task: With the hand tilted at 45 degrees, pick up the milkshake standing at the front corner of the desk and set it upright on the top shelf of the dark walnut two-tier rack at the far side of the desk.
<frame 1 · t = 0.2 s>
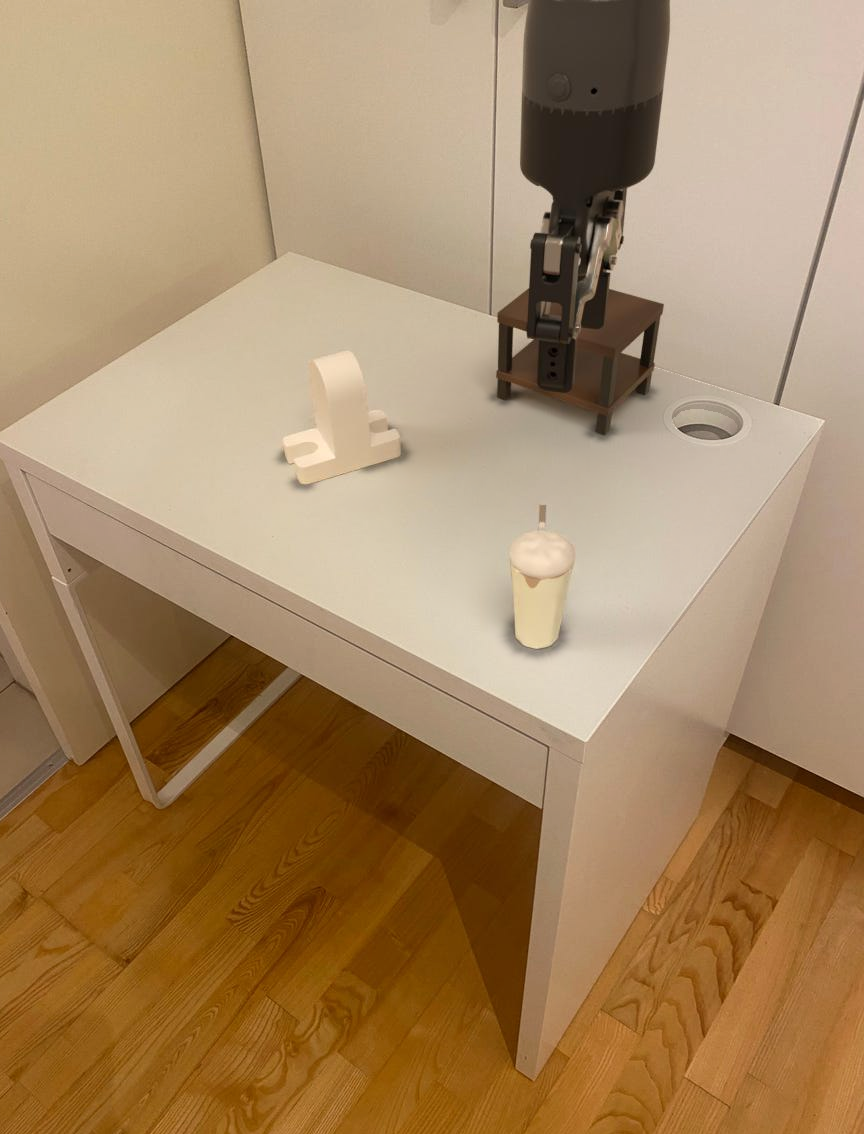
hand: (572, 355, 64), 20 cm above the table, tool pointing down, fingers open, 8 cm apart
rack: (572, 394, 96), on the table
milkshake: (536, 631, 75), on the table
cream mounting bracket: (343, 456, 92), on the table
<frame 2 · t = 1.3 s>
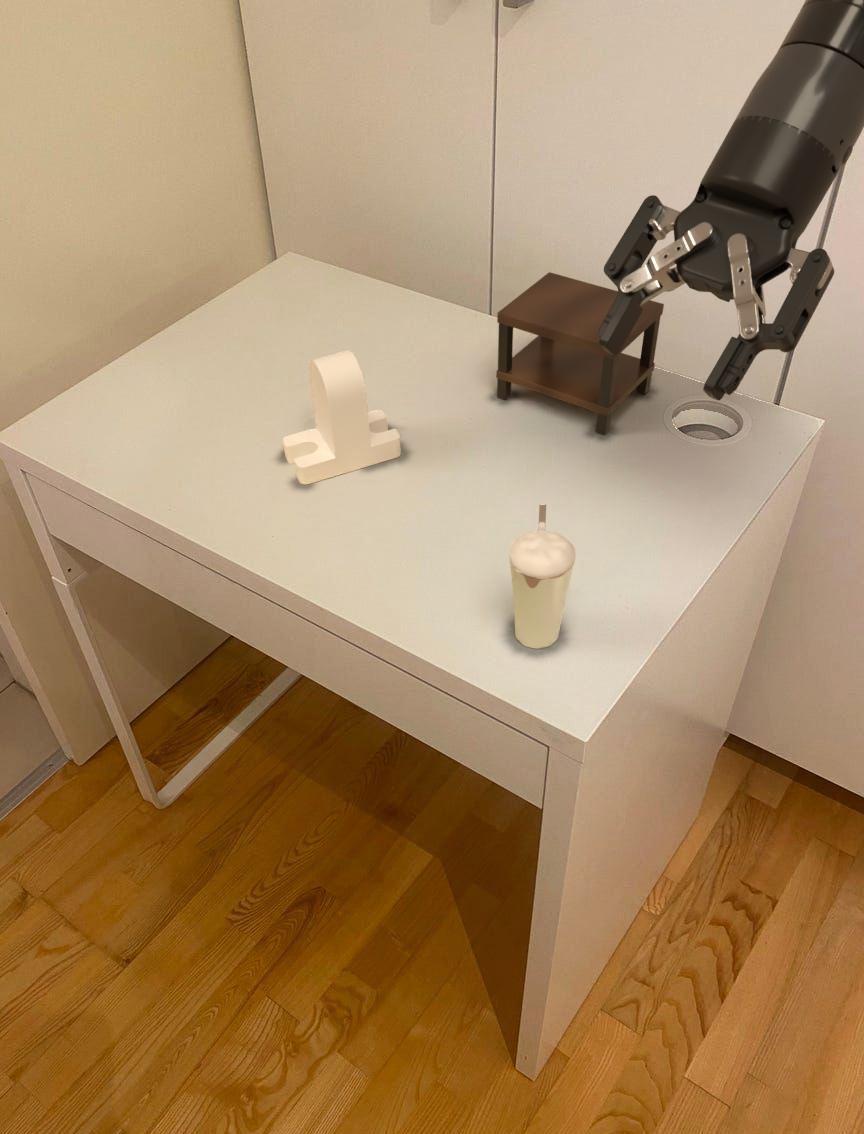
hand: (657, 372, 68), 17 cm above the table, tool tilted 45°, fingers open, 8 cm apart
nothing on the table moved.
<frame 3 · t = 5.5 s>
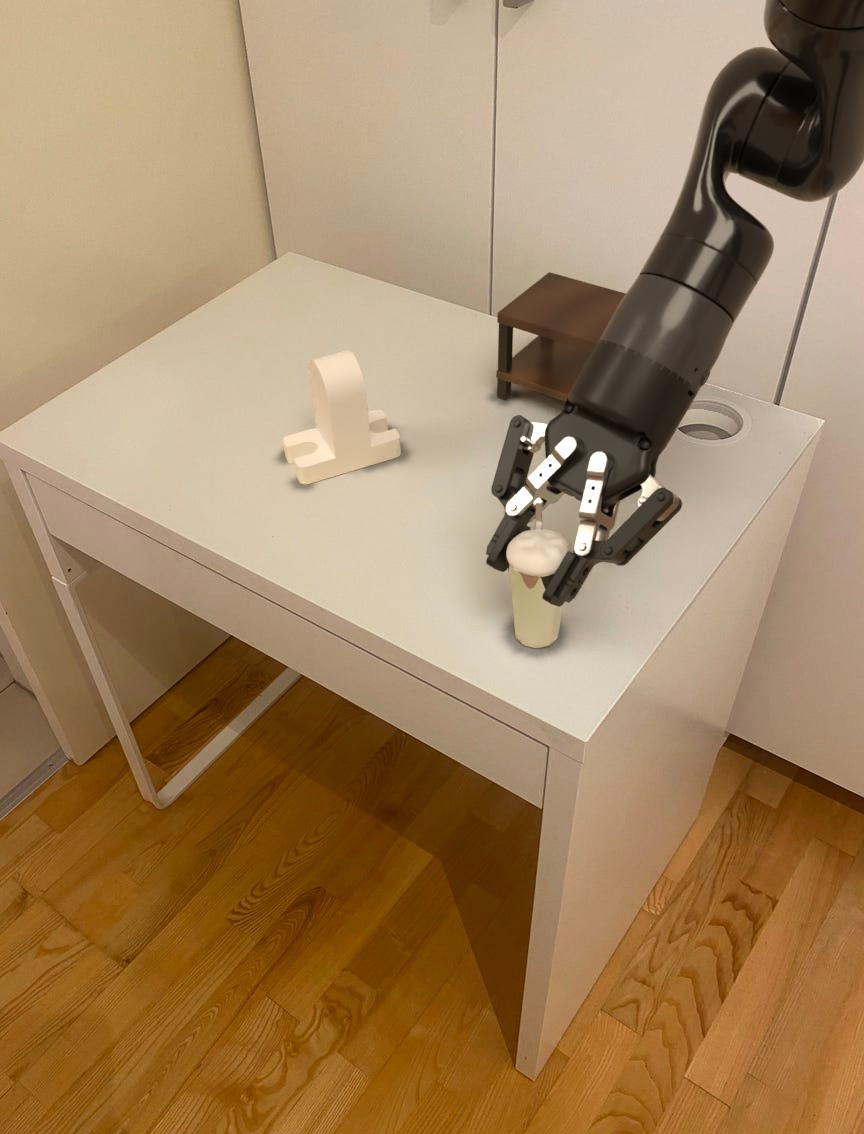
hand: (523, 584, 70), 6 cm above the table, tool tilted 45°, fingers closed on milkshake, 4 cm apart
milkshake: (536, 631, 75), on the table, touching gripper
everything else where it was.
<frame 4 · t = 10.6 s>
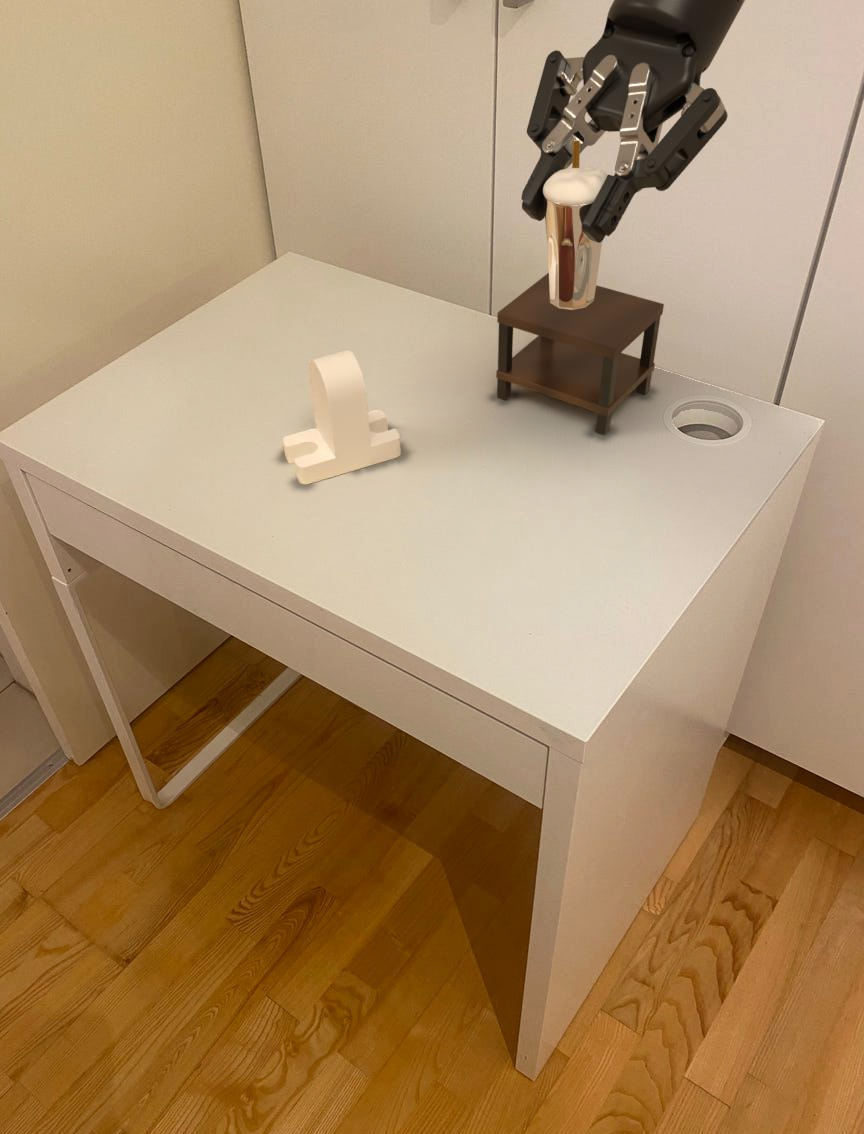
hand: (560, 224, 67), 24 cm above the table, tool tilted 45°, fingers closed on milkshake, 4 cm apart
milkshake: (571, 299, 73), point 18 cm above the table, touching gripper
everything else where it was.
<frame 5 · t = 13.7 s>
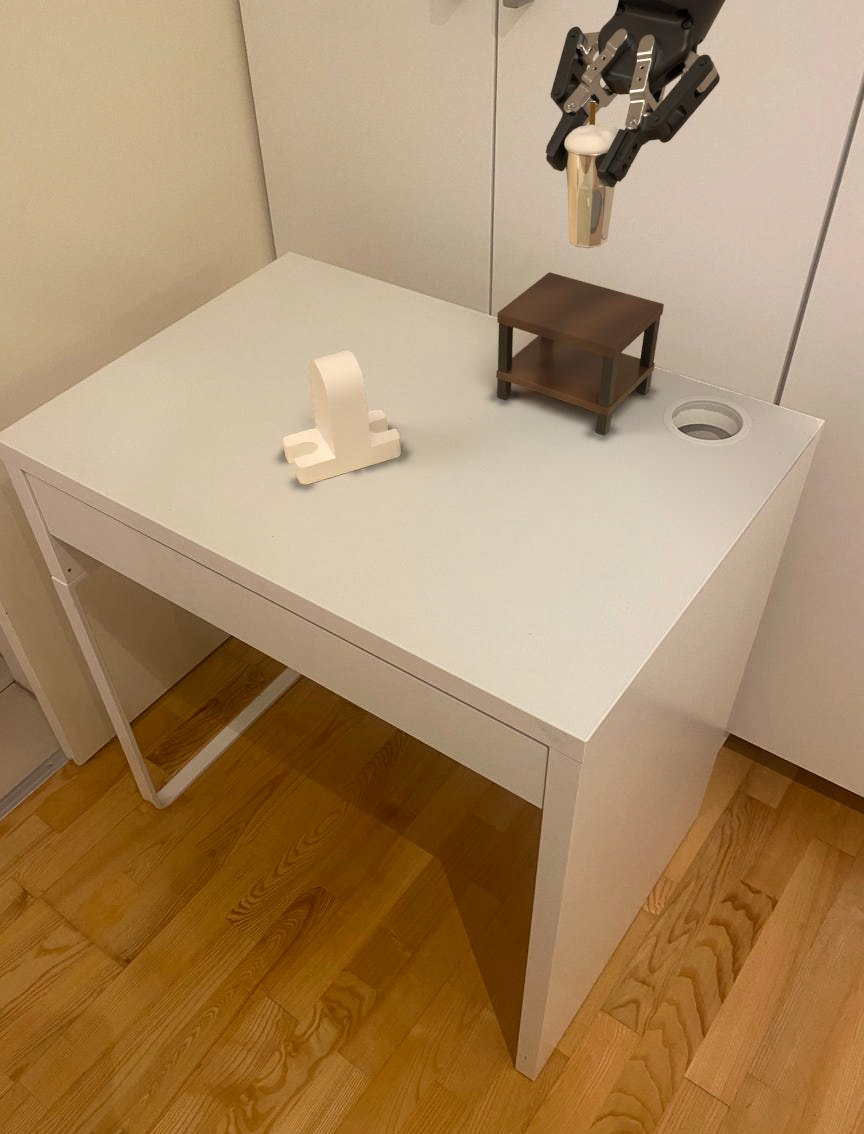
hand: (579, 172, 80), 21 cm above the table, tool tilted 45°, fingers closed on milkshake, 4 cm apart
milkshake: (587, 240, 85), point 15 cm above the table, touching gripper
everything else where it was.
when the fingers open (15 cm above the table, at t = 15.9 s): milkshake stays where it is, resting on rack.
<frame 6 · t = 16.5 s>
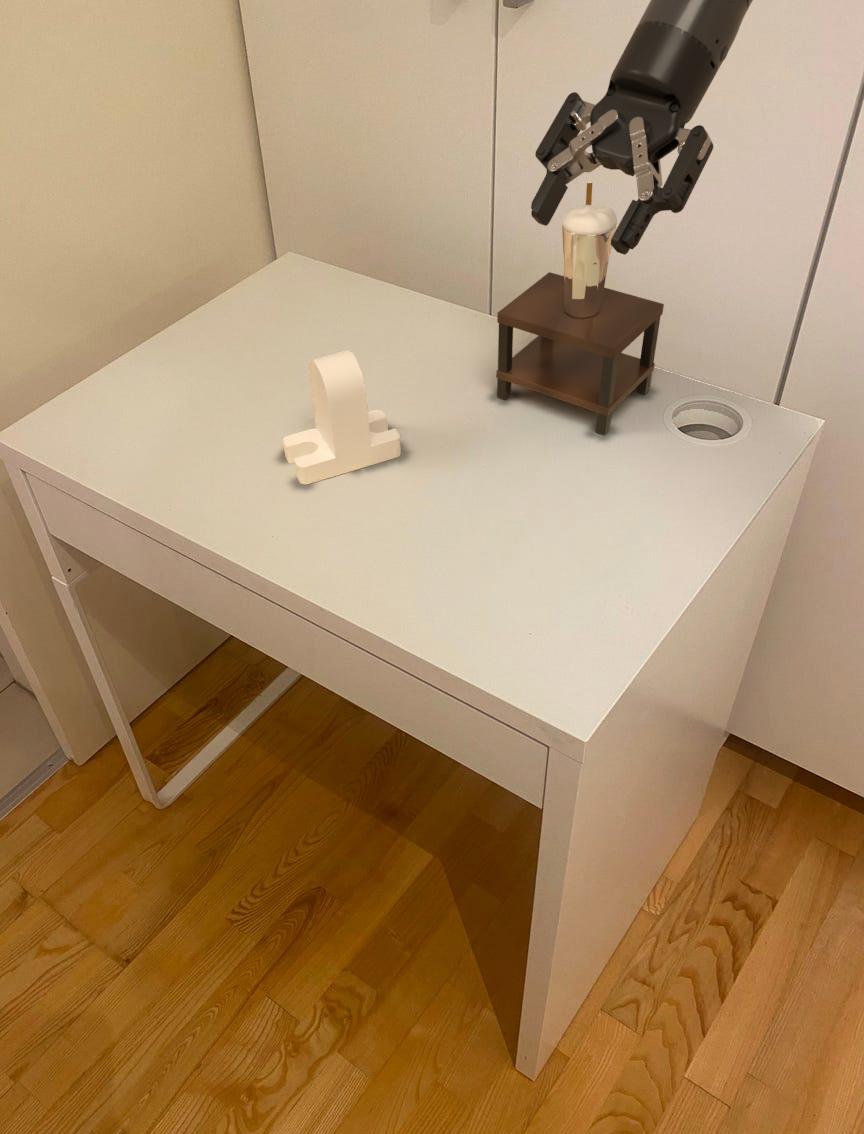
hand: (576, 235, 84), 16 cm above the table, tool tilted 45°, fingers open, 8 cm apart
milkshake: (581, 309, 90), point 9 cm above the table, touching rack
everything else where it was.
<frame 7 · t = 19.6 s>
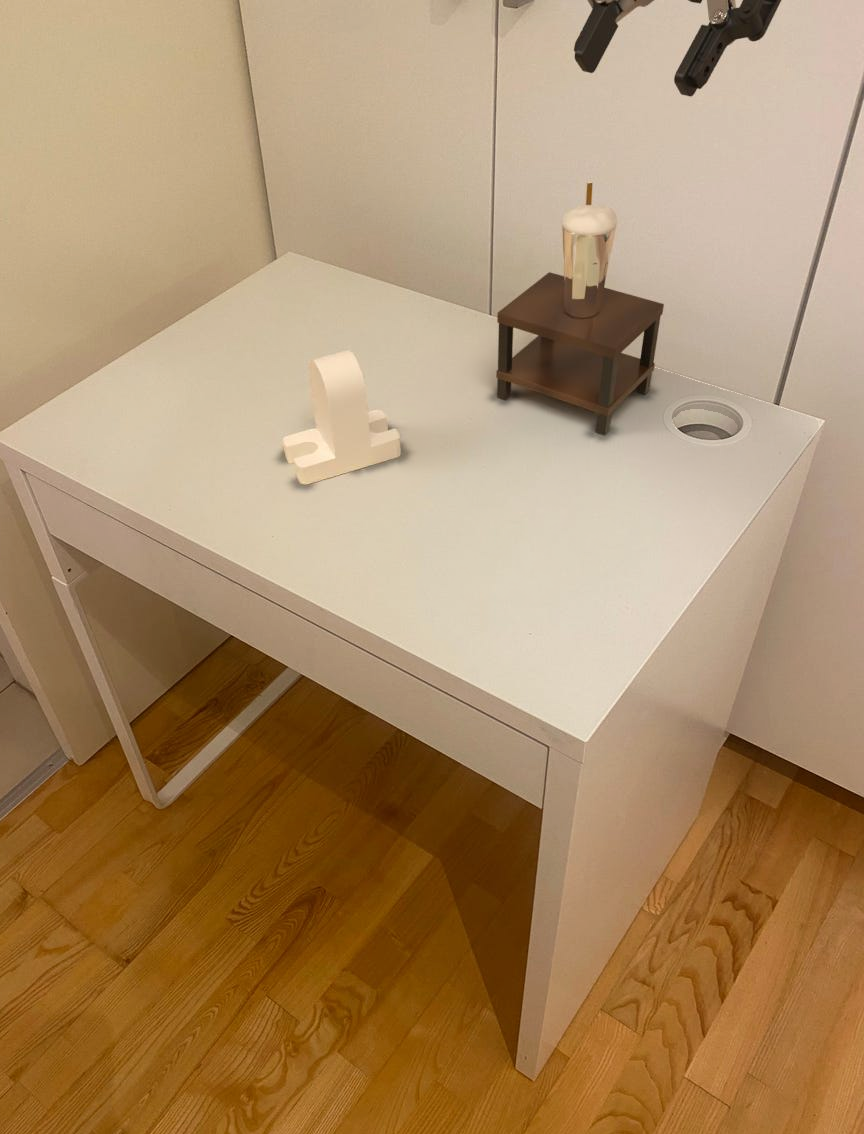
hand: (630, 77, 69), 30 cm above the table, tool tilted 45°, fingers open, 8 cm apart
nothing on the table moved.
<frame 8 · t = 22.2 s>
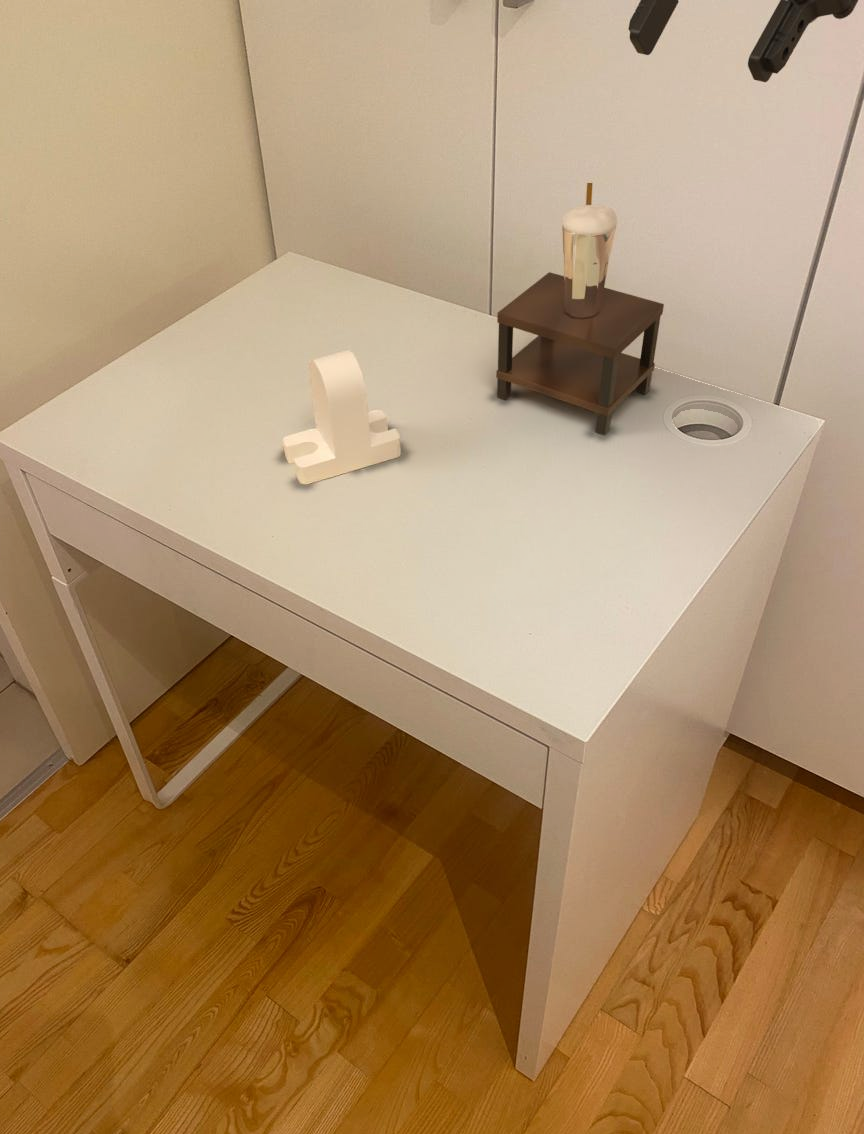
hand: (695, 60, 61), 34 cm above the table, tool tilted 45°, fingers open, 8 cm apart
nothing on the table moved.
at the end: milkshake inside the target area on the rack (0.2 cm from its centre), point 8.8 cm above the rack's base; milkshake tilted 0°; the gripper is holding nothing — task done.
